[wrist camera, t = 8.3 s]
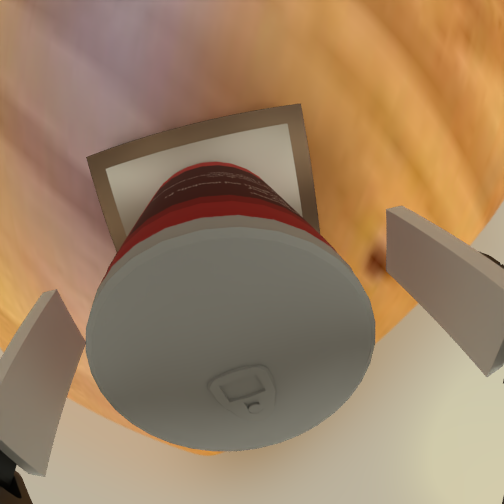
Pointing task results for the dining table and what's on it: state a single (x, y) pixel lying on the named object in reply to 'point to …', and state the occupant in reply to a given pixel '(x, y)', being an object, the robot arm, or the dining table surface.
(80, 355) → the robot arm
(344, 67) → the dining table surface
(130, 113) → the dining table surface
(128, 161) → the base block
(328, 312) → the canned food
